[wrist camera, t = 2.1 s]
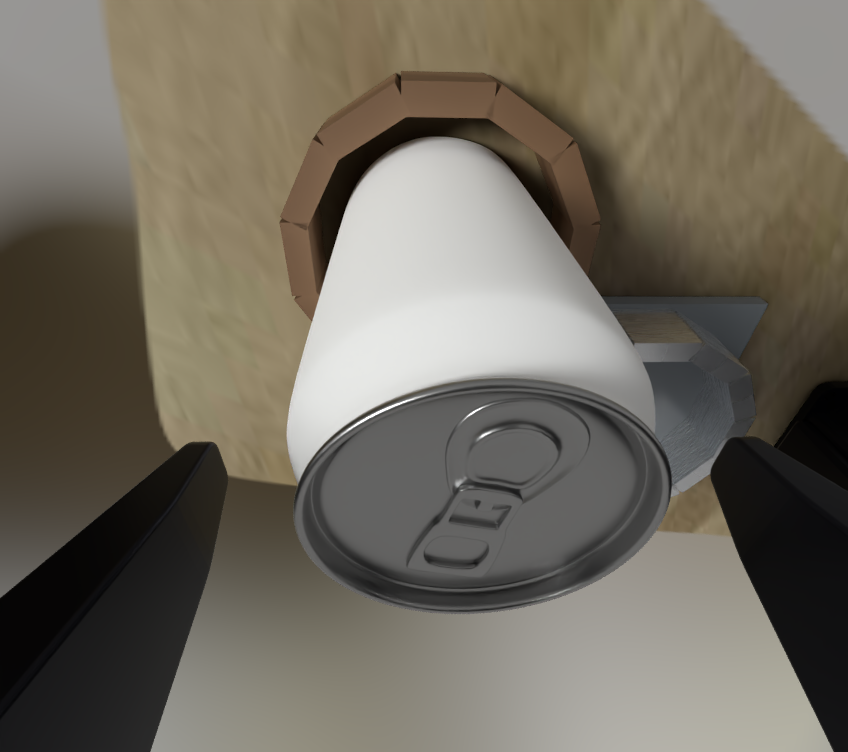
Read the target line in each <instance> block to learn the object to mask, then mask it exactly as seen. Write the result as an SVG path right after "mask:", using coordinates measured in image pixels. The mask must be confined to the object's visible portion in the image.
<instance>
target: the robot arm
mask: <svg viewBox="0 0 848 752" xmlns="http://www.w3.org/2000/svg"><path fill="white" fill-rule="evenodd" d="M710 476H711V481H712V484H713V487H714V489H715V492H716V495H717V497H718V500H719V503H720V506H721V508H722V511H723V514H724V517H725V519H726V522H727V525H728V527H729V530H730V533H731V536H732V538H733V541H734V544H735V547H736V549H737V551H738V554H739V557H740V559H741V561H742V563H743V565H744V568H745V570H746V572H747V574H748V576H749V578H750V580H751V583H752V585H753V587H754V589H755V591H756V593H757V595H758V597H759V599H760V601H761V603H762V605H763V607H764V609H765V611H766V613H767V615H768V617H769V620H770V622H771V623H772V626H773V628H774V630H775V632H776V634H777V636H778V638H779V640H780V642H781V644H782V646H783V648H784V650H785V652H786V655H787V657H788V659H789V661H790V663H791V665H792V667H793V669H794V671H795V673H796V675H797V677H798V679H799V681H800V683H801V685H802V687H803V689H804V691H805V694H806V696H807V698H808V700H809V702H810V704H811V706H812V708H813V710H814V712H815V714H816V716H817V718H818V720H819V722H820V725H821V726H822V729H823V730H824V733H825V735H826V737H827V739H828V741H829V743H830V745H831V747H832V749H833V751H834V752H848V382H827V383H824V384H821V385H820V386H818V387H817V388H816V389H815V390H814V391H813V392H812V394H811V395H810V397H809V398H808V399H807V401H806V402H805V404H804V405H803V407H802V408H801V409H800V411H799V412H798V414H797V415H796V417H795V418H794V420H793V421H792V422H791V424H790V425H789V427H788V428H787V430H786V431H785V432H784V434H783V435H782V437H781V438H780V440H779V441H778V443H777V444H776V445H775V447H773V446H771V445H770V444H768V443H766V442H765V441H763V440H761V439H759V438H757V437H731V438H730V439H728V440H727V441H726V443H725V444H724V446H723V448H722V450H721V451H720V453H719V455H718V456H717V458H716V460H715V461H714V463H713V465H712V467H711V471H710ZM227 485H228V475H227V471H226V468H225V465H224V463H223V460H222V457H221V454H220V452H219V449H218V447H217V445H216V444H215V443H214V442H190V443H188V444H186V445H185V446H183V447H182V448H181V449H180V450H179V451H177V452H176V453H175V454H174V455H173V456H171V457H170V458H169V459H168V460H167V461H165V462H164V463H163V464H162V465H160V466H159V467H158V468H157V469H156V470H154V471H153V472H152V473H151V474H150V475H148V476H147V477H146V478H145V479H144V480H142V481H141V482H140V483H139V484H138V485H137V486H135V487H134V488H133V489H131V490H130V491H129V492H128V493H127V494H125V495H124V496H123V497H122V498H121V499H119V500H118V501H117V502H116V503H115V504H113V505H112V506H111V507H110V508H109V509H107V510H106V511H105V512H104V513H102V514H101V515H100V516H99V517H98V518H96V519H95V520H94V521H93V522H92V523H90V524H89V525H88V526H87V527H86V528H84V529H83V530H82V531H81V532H80V533H78V534H77V535H76V536H75V537H73V538H72V539H71V540H70V541H69V542H67V543H66V544H65V545H64V546H63V547H61V548H60V549H59V550H58V551H57V552H55V553H54V554H53V555H52V556H51V557H49V558H48V559H47V560H46V561H45V562H43V563H42V564H41V565H40V566H39V567H37V568H36V569H35V570H34V571H32V572H31V573H30V574H29V575H28V576H26V577H25V578H24V579H23V580H21V581H20V582H19V583H18V584H17V585H16V586H14V587H13V588H12V589H11V590H9V591H8V592H7V593H6V594H5V595H3V596H2V597H1V598H0V752H150V751H151V748H152V745H153V742H154V739H155V736H156V733H157V729H158V726H159V723H160V720H161V717H162V714H163V711H164V708H165V705H166V702H167V699H168V696H169V693H170V690H171V687H172V684H173V681H174V678H175V675H176V672H177V669H178V666H179V662H180V659H181V657H182V653H183V650H184V647H185V644H186V641H187V638H188V635H189V632H190V629H191V626H192V623H193V620H194V617H195V614H196V611H197V608H198V605H199V602H200V599H201V596H202V593H203V590H204V586H205V584H206V580H207V577H208V574H209V570H210V566H211V562H212V558H213V553H214V549H215V544H216V539H217V534H218V529H219V524H220V520H221V515H222V510H223V505H224V501H225V496H226V491H227Z"/></svg>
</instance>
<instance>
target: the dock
mask: <svg viewBox="0 0 848 752" xmlns="http://www.w3.org/2000/svg"><path fill="white" fill-rule="evenodd" d="M602 299H603V300H604V301H605V303H606V304H607V306H608V307H609V309H610V310H611V312H612V313H613V315H614V316H615V318H616V319H617V321H618V322H619V324H620V325H621V327H622V328H623V330H624V331H625V333H626V335H627V336H628V338H629V339H630V341H631V342H632V344H633V346H634V347H635V349H636V351H637V352H638V354H639V356H640V358H641V360H642V362H643V364H644V367H645V369H646V371H647V373H648V376H649V379H650V382H651V385H652V389H653V395H654V403H655V436H656V437H657V439H658V440H659V442H660V443H661V445H662V447H663V449H664V451H665V453H666V455H667V458H668V461H669V464H670V468H671V474H672V491H671V497H672V496H675V495H678V494H679V491H681V492H684V491H686V490H687V489H689V488H690V487H692V486H693V485H694V484H696V483H697V482H699V481H700V480H702V479H703V478H704V477H706V476H707V475H709V474H710V471H711V467H712V465H713V463H714V461H715V460H716V458H717V456H718V455H719V453H720V451H721V450H722V448H723V446H724V444H725V443H726V441H727V440H728V439H730V438H731V437H744V436H745V434H746V433H747V431H748V429H749V428H750V426H751V425H752V423H753V421H754V420H755V417H754V416H755V415H756V408H755V401H754V394H753V386H752V379H751V373H750V372H749V371H748V370H747V369H746V367H745V366H744V365H743V364H742V363H741V362H740V361H739V358H740V356H741V354H742V352H743V350H744V349H745V347H746V345H747V343H748V341H749V339H750V337H751V336H752V334H753V332H754V330H755V328H756V326H757V324H758V323H759V321H760V319H761V317H762V315H763V313H764V311H765V310H766V308H767V306H768V303H766V302H765V301H764V300H763V299H761V298H760V297H602Z"/></svg>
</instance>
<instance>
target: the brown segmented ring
mask: <svg viewBox="0 0 848 752" xmlns="http://www.w3.org/2000/svg"><path fill="white" fill-rule="evenodd" d="M405 117H439V118H488V119H490V120H491V121H493V122H494V123H495V124H497V125H498V126H500V127H501V128H502V129H504V130H505V131H507V132H508V133H509V134H511V135H512V136H514V137H515V138H516V139H518V140H519V141H521V142H522V143H523V144H525V145H526V146H528V147H529V148H530V149H532V150H533V151H534V152H535V154H536V157H537V160H538V162H539V165H540V168H541V171H542V173H543V176H544V179H545V181H546V184H547V187H548V190H549V192H550V195H551V198H552V200H553V203H554V205H553V210H552V215H551V220H550V224H551V225H552V227H553V228H554V230H555V231H556V232H557V234H558V235H559V237H560V238H561V240H562V241H563V242H564V244H565V245H566V247H567V248H568V250H569V251H570V252H571V254H572V255H573V257H574V258H575V260H576V261H577V262H578V264H579V265H580V267H581V268H582V270H583V271H584V273H585V274H586V275H587V277H588V274H589V270H590V266H591V262H592V258H593V254H594V250H595V246H596V242H597V239H598V235H599V231H600V227H601V225H600V223H599V222H598V221H599V220H601V218H600V215H599V212H598V209H597V206H596V202H595V199H594V196H593V193H592V190H591V186H590V183H589V180H588V177H587V174H586V170H585V167H584V164H583V161H582V158H581V154H580V151H579V148H578V145H577V143H576V142H575V141H573V139H574V138H573V137H571V136H570V135H569V134H567V133H566V132H565V131H563V130H562V129H561V128H559V127H558V126H557V125H555V124H554V123H553V122H551V121H550V120H549V119H547V118H546V117H545V116H544V115H542V114H541V113H540V112H538V111H537V110H536V109H534V108H533V107H532V106H530V105H529V104H528V103H526V102H525V101H524V100H522V99H521V98H520V97H518V96H517V95H516V94H515V93H513V92H512V91H511V90H509V89H508V88H507V87H505V86H504V85H503V84H501V83H500V82H498V81H497V80H496V79H494V78H493V77H491V76H490V75H488V76H487V75H486V74H484V73H462V72H415V71H401V82H400V80H399V78H398V76H397V74H396V73H395V74H393V75H392V76H390V77H389V78H387V79H386V80H384V81H383V82H381V83H380V84H378V85H377V86H375V87H374V88H373V89H371V90H370V91H368V92H367V93H365V94H364V95H362V96H361V97H359V98H358V99H356V100H355V101H353V102H352V103H350V104H349V105H347V106H346V107H344V108H343V109H341V110H340V111H338V112H337V113H335V114H334V115H332V116H331V117H329V118H328V119H327V121H326V122H325V123H324V124H323V126H322V127H321V128H320V130H319V131H318V133H317V134H316V135H315V137H314V138H313V140H312V142H311V144H310V147H309V149H308V152H307V154H306V156H305V159H304V161H303V164H302V166H301V168H300V171H299V173H298V176H297V178H296V180H295V183H294V185H293V188H292V190H291V192H290V195H289V197H288V200H287V202H286V204H285V207H284V209H283V212H282V214H281V216H280V217H281V218H282V219H281V221H280V228H281V234H282V239H283V245H284V251H285V257H286V263H287V269H288V274H289V280H290V286H291V292H292V296H296V297H295V299H294V300H295V302H296V303H297V304H298V305H299V307H300V308H301V309H302V310H303V311H304V313H305V314H306V315H307V316H308V317H309V319H310V320H311V321H313V317H314V314H315V310H316V307H317V303H318V300H319V296H320V293H321V290H322V286H323V283H324V279H325V276H326V272H327V269H328V266H329V265H328V263H327V262H326V256H325V247H324V239H323V230H322V221H321V213H320V204H319V201H320V199H321V197H322V195H323V193H324V190H325V188H326V186H327V184H328V182H329V179H330V177H331V175H332V173H333V171H334V169H335V166H336V164H337V162H338V160H339V159H341V158H343V157H344V156H346V155H347V154H349V153H350V152H352V151H354V150H355V149H357V148H358V147H360V146H361V145H363V144H365V143H366V142H368V141H369V140H371V139H372V138H374V137H376V136H377V135H379V134H380V133H382V132H383V131H385V130H387V129H388V128H390V127H391V126H393V125H394V124H396V123H398V122H399V121H401V120H402V119H404V118H405Z"/></svg>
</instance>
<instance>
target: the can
mask: <svg viewBox="0 0 848 752" xmlns="http://www.w3.org/2000/svg"><path fill="white" fill-rule="evenodd" d="M287 445H288V451H289V456H290V461H291V465H292V468H293V471H294V474H295V477H296V480H297V483H298V486H297V489H296V493H295V499H294V507H293V514H294V523H295V528H296V532H297V535H298V538H299V540H300V543H301V544H302V546H303V548H304V550H305V551H306V553H307V554H308V556H309V557H310V558H311V560H312V561H313V562H314V563H315V564H316V565H317V566H318V567H319V568H320V569H321V570H322V571H323V572H324V573H325V574H326V575H328V576H329V577H330V578H331V579H333V580H334V581H336V582H337V583H339V584H340V585H342V586H344V587H345V588H347V589H349V590H351V591H353V592H355V593H357V594H359V595H362V596H364V597H366V598H369V599H372V600H374V601H377V602H380V603H384V604H387V605H391V606H395V607H399V608H404V609H409V610H415V611H422V612H430V613H444V614H474V613H488V612H498V611H504V610H511V609H517V608H522V607H526V606H531V605H535V604H539V603H543V602H546V601H550V600H553V599H556V598H559V597H562V596H564V595H567V594H569V593H572V592H574V591H577V590H579V589H582V588H583V587H586V586H588V585H590V584H592V583H594V582H596V581H598V580H600V579H601V578H603V577H605V576H606V575H608V574H610V573H611V572H613V571H614V570H616V569H617V568H619V567H620V566H621V565H623V564H624V563H626V562H627V561H628V560H629V559H630V558H631V557H633V556H634V555H635V554H636V553H637V552H638V551H639V550H640V549H641V548H642V547H643V546H644V545H645V544H646V543H647V542H648V541H649V540H650V538H651V537H652V536H653V534H654V533H655V532H656V530H657V529H658V527H659V525H660V524H661V522H662V520H663V518H664V516H665V514H666V511H667V508H668V505H669V502H670V498H671V491H672V474H671V468H670V464H669V461H668V458H667V455H666V453H665V451H664V449H663V447H662V445H661V443H660V442H659V440H658V439H657V437H656V436H655V403H654V395H653V389H652V385H651V382H650V379H649V376H648V373H647V371H646V369H645V367H644V364H643V362H642V360H641V358H640V356H639V354H638V352H637V351H636V349H635V347H634V346H633V344H632V342H631V341H630V339H629V338H628V336H627V335H626V333H625V331H624V330H623V328H622V327H621V325H620V324H619V322H618V321H617V319H616V318H615V316H614V315H613V313H612V312H611V310H610V309H609V307H608V306H607V304H606V303H605V301H604V300H603V299H602V297H601V296H600V294H599V293H598V291H597V290H596V288H595V287H594V286H593V284H592V283H591V281H590V280H589V278H588V277H587V275H586V274H585V273H584V271H583V270H582V268H581V267H580V265H579V264H578V262H577V261H576V260H575V258H574V257H573V255H572V254H571V252H570V251H569V250H568V248H567V247H566V245H565V244H564V242H563V241H562V240H561V238H560V237H559V235H558V234H557V232H556V231H555V230H554V228H553V227H552V225H551V224H550V223H549V221H548V220H547V218H546V217H545V215H544V214H543V213H542V211H541V210H540V208H539V207H538V206H537V204H536V203H535V201H534V200H533V199H532V197H531V196H530V194H529V193H528V192H527V190H526V189H525V187H524V186H523V185H522V183H521V182H520V181H519V179H518V178H517V177H516V175H515V174H514V173H513V171H512V170H511V169H510V168H509V167H508V166H507V164H506V163H505V162H504V161H503V160H502V159H501V158H500V157H499V156H497V155H496V154H495V153H494V152H492V151H491V150H489V149H488V148H486V147H484V146H482V145H480V144H477V143H474V142H471V141H468V140H464V139H459V138H453V137H436V136H435V137H423V138H418V139H414V140H411V141H408V142H405V143H402V144H400V145H398V146H396V147H394V148H392V149H391V150H389V151H387V152H386V153H384V154H383V155H382V156H380V157H379V158H378V159H377V160H376V161H375V162H373V163H372V164H371V165H370V167H369V168H368V169H367V170H366V171H365V172H364V174H363V175H362V176H361V178H360V179H359V181H358V182H357V184H356V186H355V188H354V190H353V192H352V194H351V196H350V199H349V201H348V204H347V207H346V210H345V213H344V216H343V219H342V222H341V226H340V229H339V232H338V236H337V239H336V242H335V246H334V249H333V252H332V256H331V259H330V262H329V266H328V269H327V272H326V276H325V279H324V283H323V286H322V290H321V293H320V296H319V300H318V303H317V307H316V310H315V314H314V317H313V321H312V324H311V327H310V331H309V334H308V338H307V341H306V345H305V349H304V352H303V356H302V359H301V363H300V367H299V370H298V374H297V377H296V381H295V385H294V390H293V394H292V398H291V402H290V407H289V415H288V423H287Z"/></svg>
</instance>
